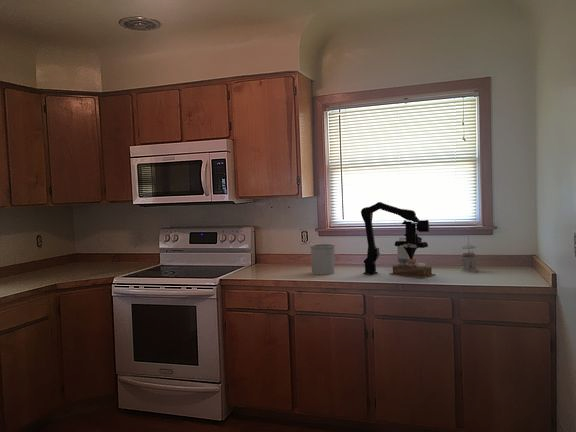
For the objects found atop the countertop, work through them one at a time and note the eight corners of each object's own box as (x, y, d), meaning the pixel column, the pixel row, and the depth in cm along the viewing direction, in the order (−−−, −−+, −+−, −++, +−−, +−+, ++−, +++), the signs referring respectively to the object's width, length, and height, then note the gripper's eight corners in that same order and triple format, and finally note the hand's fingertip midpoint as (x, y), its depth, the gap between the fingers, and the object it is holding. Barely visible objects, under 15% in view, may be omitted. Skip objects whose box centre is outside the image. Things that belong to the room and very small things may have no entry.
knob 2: (422, 274, 271) (422, 265, 270) (414, 273, 274) (414, 264, 274) (427, 273, 274) (427, 263, 274) (419, 272, 278) (419, 263, 278)
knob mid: (413, 269, 275) (412, 259, 275) (405, 268, 279) (405, 259, 278) (418, 267, 278) (417, 258, 278) (410, 267, 282) (410, 258, 282)
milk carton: (408, 269, 298) (407, 238, 297) (397, 268, 302) (396, 238, 301) (413, 267, 303) (412, 237, 302) (402, 266, 308) (401, 237, 307)
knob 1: (404, 268, 279) (403, 258, 279) (396, 267, 283) (396, 258, 283) (409, 266, 283) (408, 257, 283) (401, 265, 287) (401, 257, 286)
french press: (475, 268, 290) (474, 227, 289) (481, 272, 279) (480, 228, 277) (458, 269, 291) (457, 227, 290) (463, 272, 280) (462, 229, 278)
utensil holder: (340, 272, 297) (339, 243, 296) (325, 276, 286) (324, 246, 285) (321, 270, 307) (320, 242, 306) (306, 273, 296) (305, 245, 295)
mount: (424, 278, 266) (423, 269, 266) (389, 274, 283) (388, 266, 283) (435, 275, 275) (435, 266, 274) (400, 271, 291) (400, 263, 291)
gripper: (432, 231, 276) (433, 258, 277) (404, 230, 290) (405, 256, 291) (422, 233, 269) (422, 261, 269) (393, 231, 282) (394, 258, 283)
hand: (411, 259), depth 278 cm, fingers closed, pressing on knob mid
